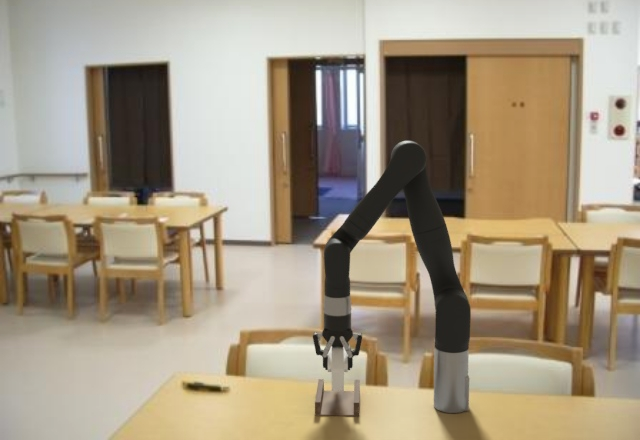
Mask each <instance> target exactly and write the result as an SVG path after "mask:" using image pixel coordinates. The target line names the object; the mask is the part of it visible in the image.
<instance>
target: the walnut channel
mask: <svg viewBox="0 0 640 440" xmlns="http://www.w3.org/2000/svg"><path fill="white" fill-rule="evenodd" d="M360 380H361V379H354V382H353V383H354V384H353V390H344V391H332V390H325V387H324V386H325V385H324V383H325V382H324V381H325V380H324V378H321V379H320V378H319V379H318V381H317V385H316V393H315V399H314V416H316V417H319V416H320V417H360V404H361V403H360V398H361V396H360V393H361V389H360V386H361V383H360V382H361V381H360Z"/></svg>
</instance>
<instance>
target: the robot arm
mask: <svg viewBox="0 0 640 440" xmlns="http://www.w3.org/2000/svg"><path fill="white" fill-rule="evenodd" d="M427 160H428V158H427V153H426V150H425V149H424V147H422V146H421V144H419V143H417V142H416V141H413V140H403V141H400V142H398V143H397V144H396V145H395V146H394V147H393V149H392V151H391V153H390V160H389V163H388V165H387V166H386V168H385V169H384V171H383V173H382V175H380V178H379V179H378V180H377V181H376V183H375V184H374V185H373V187H371V189H369V191H368V192H366V194H365V195H364V196H363V198H361V199H360V201H359V202H358V203H357V204H356V205H355V206H354V208H353V209H352V211H351V212H349V213H350V214H348V216H347V217H346V219H345V220H344V222H343V223H342V225H340V227H339V228H338V229H337V230H336V231H334V233H333V234H332V235H331V237H330V238H329V239H328V240H327V242H326V243H325V246H324V251H323V262H324V264H323V265H324V276H325V277H324V298H323V329H322V332H321V331H320V332H318V331H314V332H313V334H312V340H313V345H314V351H315V353H316V356H321V357H322V366H323V367H322V368H324V369H325V370H326V371H328V352H329V350H330V348H331V346H332V347H337V346H338V347H344V349H345V351H346V353H347V357H348V371H350V370H351V369H352V368H353V365H354V364H353V361H354V359H353V358H354V357H358V356H360V355H359V354H360V350H361V346H362V345H361V344H362V341H363V333H362V332H360V331H359V332H353V330H352V301H351V278H350V268H351V265H350V264H351V253H352V251H353V250H354V249H355V247H356V246H357V245H358V244H359V242H360V241H361V240H364V239H365V237H366V236H367V235H368V234H369V233H370V232H371V230H372V229H373V227H374V226H375V224H377V222H378V221H379V220H380V218H381V217H382V215H383V214H384V213H385V211H386V210H387V208H388V207H389V206H390V204H391V203H392V201H394V199H395V198H396V197H397V196H398V194H400V192H401V191H403V194H404V199H405V204H406V209H407V210H406V211H407V215H408V216H407V217H408V220H409V225H410V229H411V233H412V237H413V239H414V243H415V246H416V248H417V251H418V253H419V255H420V258H421V261H422V263H423V264H424V266H425V268H426V270H427V273H428V276H429V279H430V283H431V288H432V293H433V298H434V307H435V309H434V310H435V323H434V324H435V328H434V329H435V331H434V353H433V354H434V357H433V358H434V363H433V368H434V369H433V372H434V373H433V407H434V408H435V410H438V411H439V412H442V413H448V414H459V413H462V412H468V411H469V410H470V409H469V408H470V376H469V357H470V356H469V354H470V353H469V350H470V348H469V347H470V340H471V318H472V317H471V316H472V314H471V311H472V310H471V305H470V302H469V299H468V296H467V294H466V292H465V291H464V288H463V285H462V283H461V281H460V278H459V276H458V273H457V270H456V267H455V260H454V253H453V247H452V241H451V236H450V233H449V230H448V227H447V223H446V220H445V218H444V215H443V213H442V209H441V208H440V205H439V202H438V201H437V198H436V196H435V193H434V192H433V190H432V187H431V185H430V179H429V175H428V171H427V166H426V164H427ZM322 338H323V339H324V340H325V341H326V344H325V347H324V349H322V348H321V345H320V344H321V343H320V341H321V340H322ZM352 338H354V339H353V340H354V341H355V346H354V347H355V348H354V349H353V350H352V348H351V345H350V343H349V342H350V340H351V339H352ZM325 370H324V371H325Z"/></svg>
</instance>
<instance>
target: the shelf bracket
mask: <svg viewBox="0 0 640 440" xmlns="http://www.w3.org/2000/svg"><path fill="white" fill-rule="evenodd" d="M327 355H328V370H327V373H331V391H345V373H348V372H349V370H348V355H347V353H346V351H345V349H344V347H338V346H337V347H332V346H331V348H330V350H329V352H328V354H327Z"/></svg>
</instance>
